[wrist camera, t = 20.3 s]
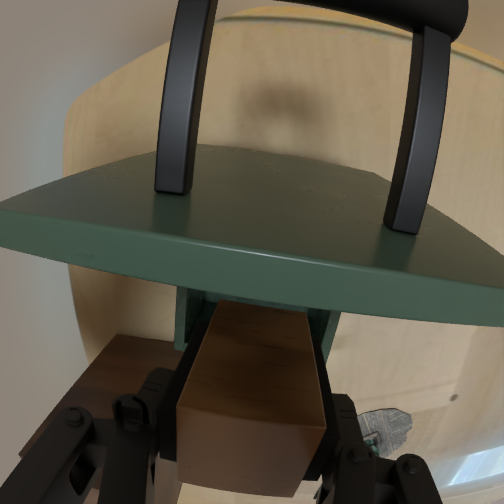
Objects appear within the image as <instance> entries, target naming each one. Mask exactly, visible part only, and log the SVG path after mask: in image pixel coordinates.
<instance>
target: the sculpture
mask: <svg viewBox="0 0 504 504" xmlns="http://www.w3.org/2000/svg"><path fill="white" fill-rule="evenodd" d="M357 417H358V420H359V424H360V428H361V431H362V435H363V439H364V443H365V444H366V445H367V446H369V447H370V448H371V449H372V450H373V451H374V453H375V455H376V456H378V457H381V458H385V457H387V456H389V455H390V454H392V453H393V452H394V451H395V450H397V449H398V448H399V447H401V446H402V445H403V444H404V442H405V441H406V433H407V432H408V431H409V430H410V429H411V428H412V419H411V416H410V415H408V414H406V413H403V412H401V411H399V410H396V409H388V410H387V409H386V410H385V409H383V410H378V411H375V412H367V413H363V414H361V415H359V416H357Z"/></svg>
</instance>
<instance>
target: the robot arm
mask: <svg viewBox="0 0 504 504" xmlns="http://www.w3.org/2000/svg"><path fill="white" fill-rule="evenodd" d="M209 324H210V322H205V321H200V320H199V322H198V324H197V326H196V328H195V330H194V332H193V334H192V336H191V338H190V341H189V343H188V345H187V347H186V349H185V351H184V353H183V355H182V357H181V359H180V362H179V364H178V366H177V368H176V370H170V369H166V368H162V367H156V368H155V369H154V370H152V371H151V372H149V374H148V375H147V377H146V379H145V382H143V384H142V386H141V388H140V389H139V391H138V393H137V394H124V395H120V396H118V397H117V398H115V399H114V401H113V402H112V410H113V416H114V418H112V419H103V418H92V415H91V414H90V412H89V411H88V410H86V409H85V408H83V407H79V406H69V407H66V408H64V409H62V410H61V411H60V412H59V413H58V414H57V415H56V417H55V418H54V419H53V420H52V422H51V423H50V424H49V425H48V427H47V428H46V429H45V430H44V432H43V433H42V434H41V435H40V437H39V438H38V439H37V440H36V442H35V443H34V444H33V446H32V447H31V448H30V449H29V451H28V452H27V453H26V454H25V456H24V457H23V458H22V460H21V461H20V462H19V464H18V465H17V466H16V467H15V469H14V470H13V472H12V473H11V474H10V475H9V477H8V478H7V479H6V481H5V482H4V483H3V485H2V486H1V487H0V504H83V503H84V501H85V499H86V497H87V496H88V494H89V492H90V490H91V488H92V486H93V485H94V483H95V481H96V479H97V477H98V475H99V474H100V472H101V470H102V468H104V470H103V475H102V480H101V485H100V491H99V496H98V502H97V504H154V499H155V479H156V458H157V455H158V453H159V456H160V458H161V459H165V460H169V461H173V462H177V454H176V405H177V403H178V400H179V398H180V395H181V393H182V391H183V388H184V386H185V383H186V381H187V378H188V376H189V373H190V371H191V368H192V366H193V363H194V361H195V358H196V356H197V353H198V351H199V349H200V346H201V344H202V341H203V339H204V336H205V334H206V331H207V329H208V327H209ZM311 340H312V345H313V351H314V356H315V362H316V367H317V373H318V379H319V384H320V390H321V396H322V402H323V408H324V414H325V420H326V427H327V428H326V431H325V433H324V435H323V437H322V439H321V442H320V444H319V446H318V448H317V450H316V452H315V455H314V457H313V459H312V461H311V463H310V465H309V467H308V469H307V471H306V473H305V475H304V477H303V479H302V480H306V481H318V479H319V477H320V475H321V474H322V481H323V483H322V484H321V486H320V488H319V489H318V491H317V492H316V494H315V496H314V498H313V499H316V498H317V500H316V504H443V503H442V500H441V498H440V495H439V493H438V490H437V488H436V485H435V483H434V480H433V478H432V476H431V473H430V471H429V468H428V466H427V464H426V462H425V461H424V459H422V458H421V457H420V456H417V455H415V454H404V455H401V456H400V457H399V458H398V459H397V460H396V461H395V460H390V459H385V458H381V457H378V456H376V455H375V453H374V451H373V450H372V449H371V448H370V447H369V446H367V445H366V444H365V443H364V439H363V435H362V431H361V428H360V424H359V420H358V417H357V413H356V409H355V406H354V402H353V401H352V400H351V399H350V398H349V396H348V395H347V394H334V393H331V388H330V383H329V379H328V374H327V370H326V365H325V361H324V356H323V352H322V347H321V343H320V339H315V338H311Z"/></svg>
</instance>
